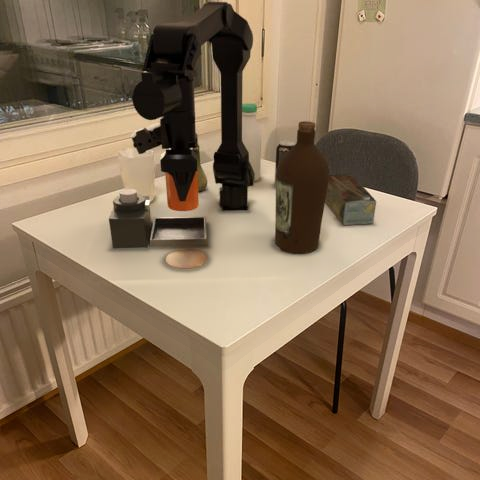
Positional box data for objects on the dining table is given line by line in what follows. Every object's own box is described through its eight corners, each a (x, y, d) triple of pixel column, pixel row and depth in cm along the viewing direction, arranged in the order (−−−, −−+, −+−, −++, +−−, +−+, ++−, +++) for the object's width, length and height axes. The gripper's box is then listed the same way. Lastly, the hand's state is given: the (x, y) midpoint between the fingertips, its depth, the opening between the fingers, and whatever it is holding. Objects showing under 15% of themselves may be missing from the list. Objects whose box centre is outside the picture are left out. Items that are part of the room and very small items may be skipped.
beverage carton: (341, 226, 114) (344, 199, 110) (319, 197, 129) (322, 172, 126) (373, 224, 114) (378, 197, 111) (348, 196, 130) (352, 171, 126)
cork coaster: (207, 250, 102) (207, 248, 102) (207, 270, 95) (207, 267, 95) (167, 251, 101) (166, 249, 101) (164, 270, 95) (164, 268, 94)
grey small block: (150, 208, 105) (149, 200, 104) (149, 213, 103) (148, 204, 102) (146, 208, 105) (146, 200, 104) (145, 213, 103) (144, 204, 102)
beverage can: (288, 181, 139) (291, 138, 132) (298, 188, 135) (302, 143, 128) (270, 184, 137) (273, 140, 130) (280, 191, 133) (283, 146, 126)
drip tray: (206, 224, 113) (206, 216, 112) (207, 247, 104) (206, 238, 102) (154, 225, 113) (153, 217, 111) (150, 248, 103) (149, 239, 102)
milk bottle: (263, 176, 143) (266, 103, 132) (255, 184, 137) (257, 108, 126) (238, 173, 145) (239, 100, 134) (229, 181, 139) (229, 106, 128)
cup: (161, 194, 129) (158, 148, 122) (153, 206, 122) (149, 158, 115) (128, 192, 130) (123, 146, 123) (118, 205, 122) (112, 157, 116)
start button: (138, 197, 104) (137, 188, 103) (136, 204, 101) (135, 194, 100) (121, 198, 104) (120, 188, 103) (119, 204, 101) (118, 194, 100)
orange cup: (198, 200, 98) (197, 165, 94) (198, 211, 93) (197, 174, 89) (168, 200, 97) (166, 165, 93) (167, 211, 92) (164, 175, 88)
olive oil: (306, 231, 111) (318, 115, 97) (330, 251, 103) (346, 127, 89) (264, 238, 108) (269, 118, 93) (284, 258, 100) (294, 131, 85)
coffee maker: (151, 224, 113) (148, 188, 108) (146, 249, 102) (142, 210, 97) (121, 224, 112) (116, 189, 108) (113, 249, 102) (107, 211, 97)
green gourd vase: (194, 185, 135) (193, 141, 129) (211, 187, 134) (210, 142, 127) (186, 192, 131) (183, 146, 124) (202, 194, 130) (201, 148, 123)
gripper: (137, 98, 92) (145, 179, 101) (125, 120, 77) (135, 214, 85) (196, 98, 93) (198, 179, 102) (195, 120, 77) (198, 213, 86)
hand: (182, 195), depth 94 cm, fingers closed on orange cup, 6 cm apart
